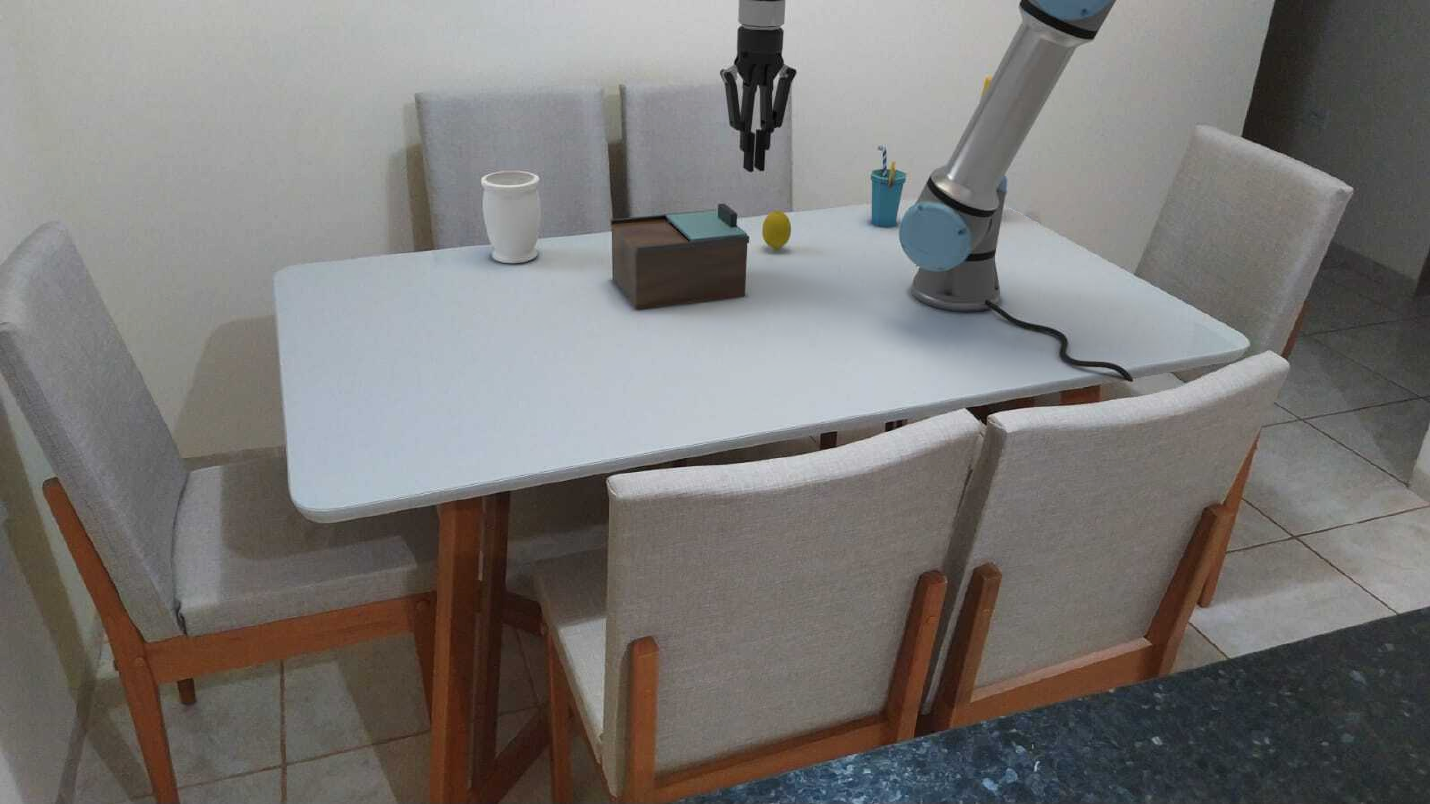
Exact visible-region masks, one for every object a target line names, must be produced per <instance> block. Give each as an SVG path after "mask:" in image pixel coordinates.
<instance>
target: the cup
mask: <svg viewBox="0 0 1430 804" xmlns="http://www.w3.org/2000/svg"><path fill="white" fill-rule="evenodd" d="M877 150H878V151H882V168H879V169H874V170H872V171H871V173H870V180H871V216H870V217H871V221H870V222H871V225H873V226H875V227H878V228H892V227H895V226H896V222H897V218H898V212H899V208H900V203H901V198H902V194H903V188H904V184H906V179H907V175H908V173H906V172H903V171H901V170H899V169H896V161H892V162H891V165H890V168H888V167H887V161H888V159H887V157H888V156H887V148H886V147H885V146H882V145H878V146H877Z"/></svg>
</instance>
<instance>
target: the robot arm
mask: <svg viewBox="0 0 1430 804" xmlns="http://www.w3.org/2000/svg"><path fill="white" fill-rule="evenodd" d="M1116 2H1117V0H1020V1H1019V2H1018V3H1019V4H1018V9H1019V12H1020V17H1021V23H1020V24H1019V26H1018V28H1017V30H1016V32H1015V33H1014V36H1013V38H1012V39H1011V42H1010V44H1009V46H1008V47H1007V49H1006V51H1005V52H1004V55H1003V56H1002V59H1001V60H1000V62H999V64H998V66H997V67H996V70H995V72H994V74H993V76H992V77H993V78H992V80H991V82H990V83H989V85H988V87H987V89H986V91H985V93H984V95H983V97H982V99H981V98H980V100H981V101H980V100H979V102H978V104H977V106H976V108H975V110H974V112H973V114H972V116H971V118H970V120H969V122H968V123H967V125H966V127H965V129H964V131H963V132H962V135H961V137H960V139H959V141H958V142H957V145H956V146H955V147H954V150H953V152H952V154H951V156H950V158H949V160H948V161H947V163H946V164H945V165H941V167H937V168H934V169H933V170H932V172H931V173H930V175H929V176H928V179H927V181H926V183H925V185H924V187H923V189H922V190H921V192H920V194H919V196H918V198H917V200H916V202H914V204H913V205H911V206H910V207H909V208H908V209H907V210H906V211H905V213H904V214H903V216H902V218H901V221H900V222H899V227H898V240H899V243H900V245H901V248H902V251H903V252H904V254H905V256H906V257H907V258H908V259H909V260H910V261H911V262H912V263H913V264H914V265H915V267H916V268H917V267H919V268H918V270H917V272H916V274H915V276H914V277H913V279H912V283H911V294H912V296H914V298H915V299H917V300H918V301H919V302H921V303H923V304H925V305H927V306H930V307H933V308H935V309H936V308H937V309H941V310H945V311H951V312H963V313H969V312H980V311H981V312H982V311H986V310H989V309H991V310H993V311H994V312H996V313H997V314H998V315H1000V316H1001V317H1003V318H1004V319H1005V320H1006V321H1008V322H1010V323H1011V324H1014V325H1016V326H1019V327H1022V328H1026V329H1030V330H1034V331H1039V332H1044V333H1048V334H1050V335H1053V336H1056V338H1058V339H1060V341H1061V344H1060V348H1059V355H1060V358H1061V359H1062V360H1064V361H1065V362H1066V363H1068V364H1070V365H1073V366H1076V367H1082V368H1100V369H1102V368H1103V369H1109V370H1112V371H1115V372H1117V373H1119V374H1120V375H1121V376H1122V377H1123V379H1124V380H1125V381H1127V382H1129V383H1133V382H1134V379H1133V377H1132V375H1131V374H1130V373H1129V372H1128V371H1127V370H1126V369H1125V368H1123V367H1122V366H1120V365H1119V364H1115V363H1114V362H1113V363H1112V362H1108V361H1098V360H1097V361H1095V360H1080V359H1075V358H1073V357H1071V356H1070V355H1068V354H1067V352H1066V351H1067V347H1068V344H1069V341H1068V338H1067V336H1066V335H1065V334H1064V333H1063V332H1061V331H1060V330H1058V329H1055V328H1052V327H1049V326H1046V325H1040V324H1037V323H1036V324H1035V323H1030V322H1027V321H1023V320H1020V319H1018V318H1015V317H1014V316H1012V315H1010V314H1009V313H1008V312H1006V311H1005V310H1004V309H1002V308H1001V307H999V306H998V305H997V304H998V303H999V300H1000V293H1001V290H1000V289H1001V288H1000V283H999V282H1000V281H999V275H998V270H997V264H996V253H997V247H998V241H999V236H1000V230H1001V223H1002V218H1003V212H1004V206H1005V200H1006V196H1007V194H1008V190H1007V189H1008V187H1007V186H1008V178H1007V175H1006V174H1007V172H1008V170H1009V168H1010V167H1011V165H1012V163H1013V161H1014V159H1015V158H1016V155H1017V154H1018V152H1019V151H1020V148H1021V147H1022V145H1023V143H1024V141H1025V140H1026V138H1027V136H1028V134H1029V133H1030V131H1031V129H1032V127H1033V125H1034V123H1035V122H1036V120H1037V118H1038V117H1039V115H1040V113H1041V112H1042V110H1043V108H1044V106H1045V104H1046V102H1047V101H1048V99H1049V98H1050V95H1051V94H1052V92H1053V90H1054V88H1055V86H1056V85H1057V83H1058V82H1059V79H1060V77H1061V76H1062V74H1063V72H1064V70H1065V69H1066V67H1067V65H1068V64H1069V62H1070V60H1071V58H1072V57H1073V55H1074V53H1075V51H1076V49H1077V48H1079V47H1080V46H1083V45H1085V44H1089V43H1091V42H1093V41H1094V40H1095V38H1096V36H1097V34H1098V33H1099V31H1100V29H1101V28H1102V26H1103V24H1104V22H1105V21H1106V19H1107V17H1108V15H1109V14H1110V12H1111V11H1112V8H1113V7H1114V5H1115V3H1116ZM737 11H738V12H737V16H738V17H737V22H738V23H739V24H740V26H739V27H738V28H737V31H736V33H737V34H736V35H737V36H736V37H737V38H736V56H735V58H734V61H733V65H731V66H730V67H728V68H726V69H725V68H722V69H721V70H720V71H719V75H720V77H721V79H722V81H723V83H724V89H725V97H726V98H725V99H726V106H727V114H728V123H729V126H730V127H731V128H732V129H734V130H736V131H738V132H739V150H740V151H741V152H743V162H742V163H743V164H742V169H744V170H745V171H747V172H748V173H753V172H754V168H755V169H756V170H757V171H759V172H764V171H765V167H766V151H769V150H770V148H771V141H772V134H773V133H774V132H775V129H777V128H778V129H780V128H782V126H783V122H784V118H785V113H786V109H787V104H788V100H789V96H790V95H789V94H790V90H791V85H792V83H793V81H794V79H795V78H796V75H797V69H796V68H793V67H791V66H789V65H787V64H785V60H784V58H783V50H784V34H785V30H784V28H782V26H783V25H785V18H786V14H785V13H786V0H738V10H737ZM738 75H739V76H740V78H741V80H742V85H741V88H742V95H741V106H740V101H739V92H738V85H737V79H738ZM778 75H779V78H778V80H777V86H776V90H775V94H774V100H773V92H774V89H775V88H774V87H775V86H774V80H775V79H776V77H777V76H778ZM758 89H759V126H760V128H759V129H757V128H756V129H755V132H753V131H752V126H753V117H754V109H755V108H754V107H755V100H756V93H757V91H758Z"/></svg>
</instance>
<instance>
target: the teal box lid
mask: <svg viewBox="0 0 1430 804" xmlns="http://www.w3.org/2000/svg"><path fill="white" fill-rule="evenodd" d="M714 210H715V211H707V210H704V211H705V212H696V211H693V212H694V213H686V212H682V213H683V214H675V213H672V214H673V215H666V218H667V219H668V220H669V221H668V222H671V223H672V224H673V225H674V226H675V227H676V228H677V229H679V230H680V231H681V232H682V233H683V234H684V235H685V236H686V237H687V238H688V239H689V240H690V241H699V240H709V239H718V238H728V237H738V236H747V235H748V233H747V232H746V231H745V230H744V229H742V228H741V227H740V226H739V225H738V213H737V212H736V211H734V210H733V209H732V208H731V207H730V206H729V205H727V204H726V203H717V209H714Z"/></svg>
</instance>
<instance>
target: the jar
mask: <svg viewBox="0 0 1430 804" xmlns="http://www.w3.org/2000/svg"><path fill="white" fill-rule="evenodd" d="M480 184H481V187H482V188H483V189H484V191H483V195H482V215H483V221H484V225H485V228H486V229H485V230H486V234H487V237H488V240H489V243H490V244H491V246H492V249H493V250H492V253H491V257H492V258H493V260H495V261H497V262H500V263H503V264H504V263H506V264H520V263H527V262H530V261H532V260H534V259H535V258H536V257H537V256H538V251H537V249H536V247H535V246H536V244H537V242H538V239H539V236H540V235H539V234H540V223H541V216H542V211H541V210H542V209H541V199H540V195H539V190H538V188H537V187H538V186H539V184H540V177H539V176H538V175H537V174H535V173H532V172H529V171H520V170H518V171H517V170H504V171H497V172H496V171H495V172H492V173H488V174H486V175H483V176H482V177H481V179H480Z"/></svg>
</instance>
